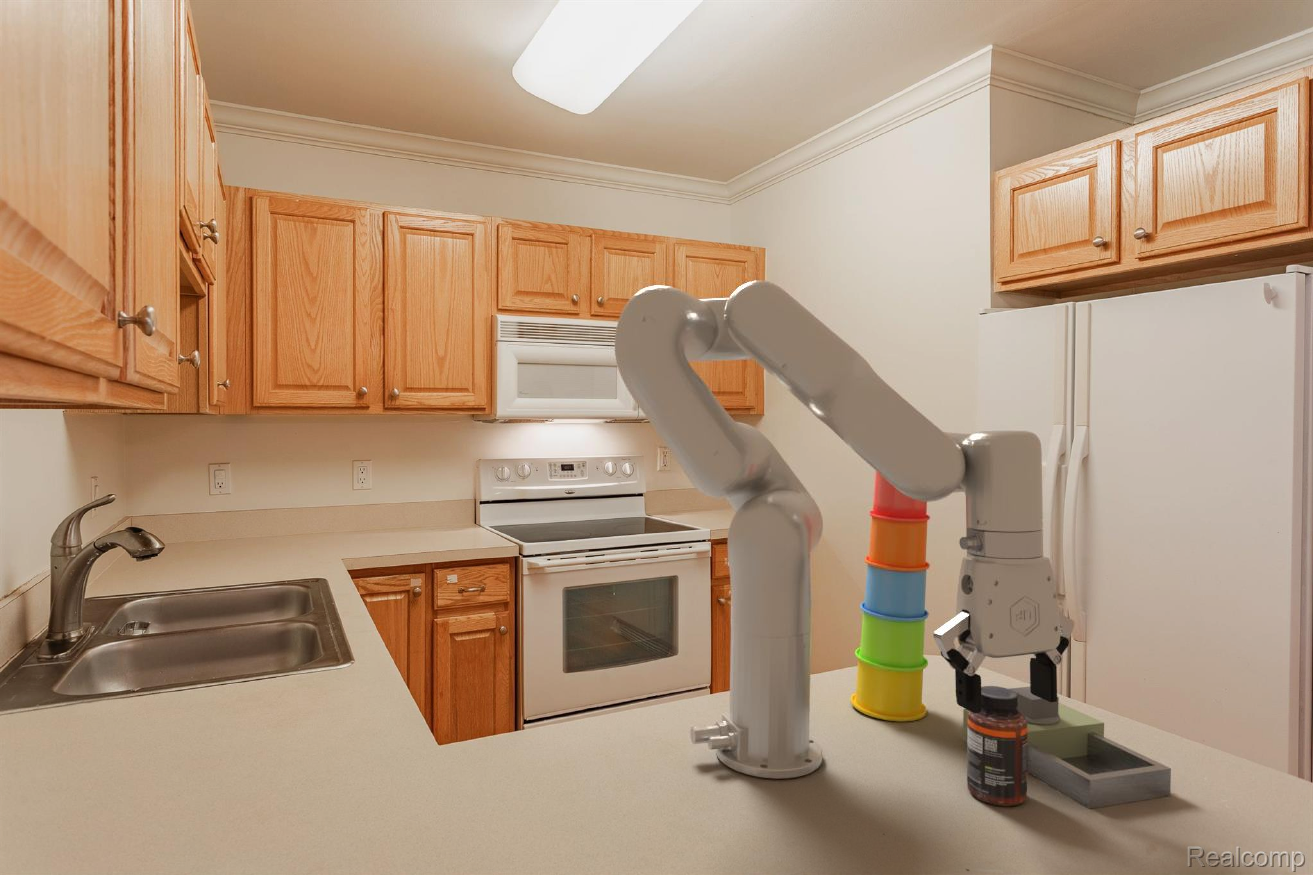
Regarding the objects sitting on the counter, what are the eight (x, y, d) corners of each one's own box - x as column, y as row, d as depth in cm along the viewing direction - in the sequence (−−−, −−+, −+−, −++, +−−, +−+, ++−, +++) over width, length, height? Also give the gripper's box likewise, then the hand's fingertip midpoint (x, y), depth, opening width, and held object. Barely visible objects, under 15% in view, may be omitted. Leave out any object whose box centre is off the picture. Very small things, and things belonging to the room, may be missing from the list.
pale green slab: (1008, 768, 88) (1009, 709, 88) (962, 740, 96) (963, 686, 96) (1103, 755, 92) (1104, 699, 92) (1052, 729, 100) (1053, 677, 100)
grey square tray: (1089, 808, 79) (1090, 780, 79) (1019, 766, 89) (1019, 741, 89) (1170, 795, 82) (1170, 768, 82) (1093, 756, 92) (1094, 732, 92)
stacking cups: (918, 697, 111) (923, 462, 110) (933, 725, 101) (939, 466, 100) (847, 693, 113) (851, 461, 112) (854, 719, 102) (859, 464, 102)
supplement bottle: (1014, 783, 85) (1016, 683, 84) (1035, 810, 79) (1038, 702, 78) (959, 780, 85) (961, 680, 85) (976, 807, 79) (978, 699, 79)
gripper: (959, 555, 75) (962, 726, 75) (1097, 545, 80) (1100, 705, 80) (913, 545, 83) (916, 701, 83) (1042, 536, 87) (1045, 683, 87)
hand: (1006, 703), depth 81 cm, fingers open, 9 cm apart
